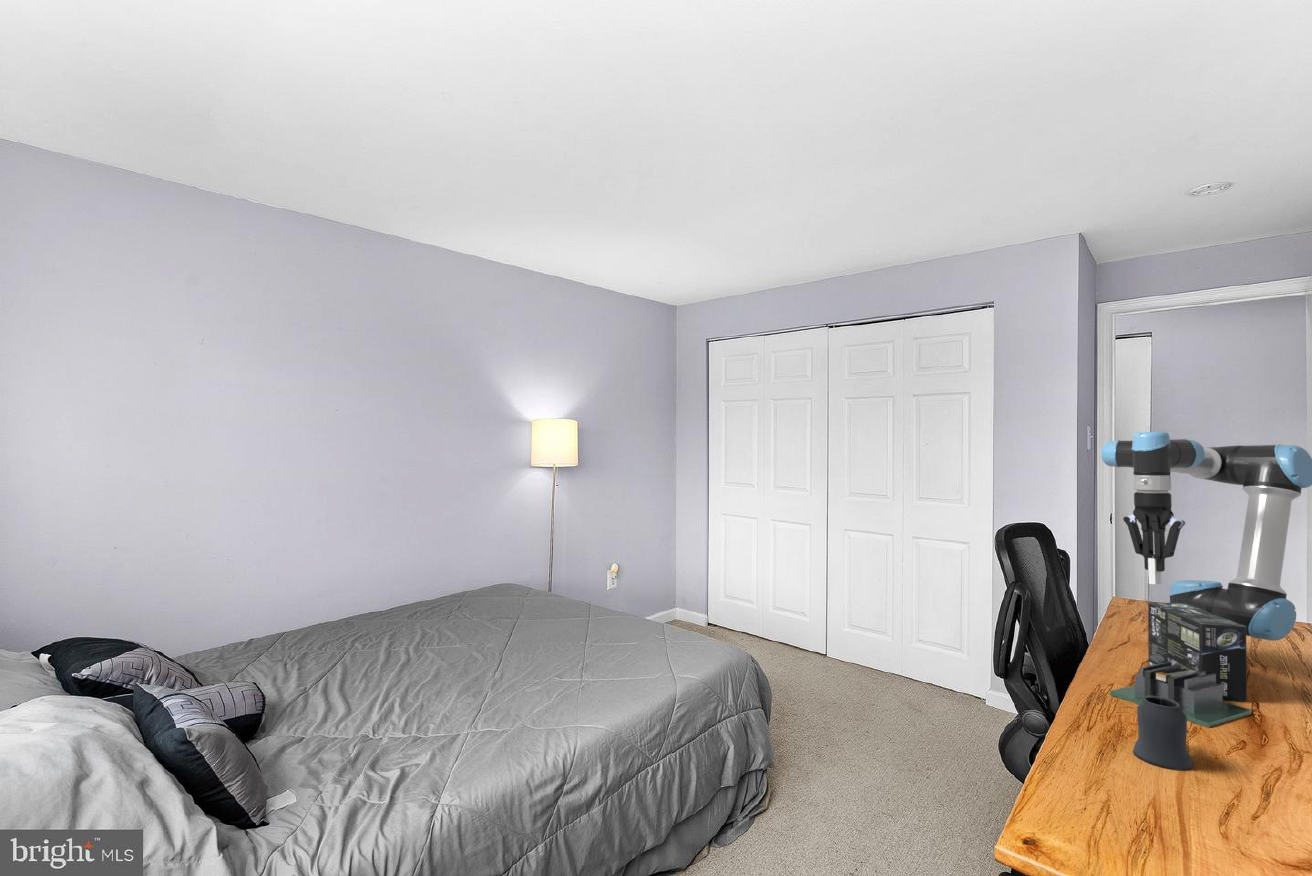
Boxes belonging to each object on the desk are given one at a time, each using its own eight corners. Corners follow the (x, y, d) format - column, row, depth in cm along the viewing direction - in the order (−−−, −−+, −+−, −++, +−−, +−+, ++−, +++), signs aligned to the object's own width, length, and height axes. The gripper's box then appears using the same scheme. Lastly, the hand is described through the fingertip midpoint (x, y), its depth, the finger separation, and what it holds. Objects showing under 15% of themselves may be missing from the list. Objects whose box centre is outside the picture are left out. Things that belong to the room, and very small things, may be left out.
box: (1249, 703, 149) (1248, 624, 150) (1201, 699, 151) (1200, 622, 152) (1187, 671, 172) (1186, 602, 172) (1147, 668, 174) (1146, 600, 174)
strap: (1190, 672, 153) (1190, 666, 153) (1204, 676, 150) (1204, 669, 150) (1154, 678, 146) (1154, 672, 146) (1167, 682, 144) (1167, 676, 144)
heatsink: (1152, 684, 161) (1152, 653, 161) (1251, 714, 142) (1250, 679, 143) (1110, 694, 153) (1109, 662, 154) (1208, 727, 135) (1208, 690, 135)
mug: (1195, 775, 114) (1194, 714, 114) (1133, 760, 120) (1132, 702, 120) (1189, 751, 124) (1188, 695, 124) (1132, 738, 129) (1131, 684, 129)
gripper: (1115, 490, 163) (1118, 580, 162) (1174, 493, 151) (1177, 589, 151) (1132, 489, 166) (1134, 577, 166) (1190, 492, 154) (1193, 586, 154)
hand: (1155, 583), depth 158 cm, fingers closed
